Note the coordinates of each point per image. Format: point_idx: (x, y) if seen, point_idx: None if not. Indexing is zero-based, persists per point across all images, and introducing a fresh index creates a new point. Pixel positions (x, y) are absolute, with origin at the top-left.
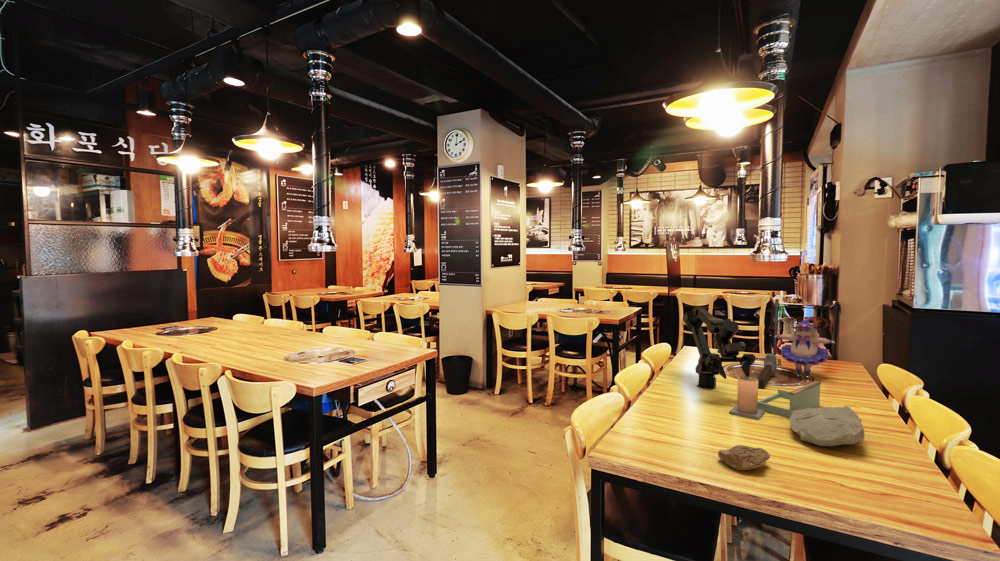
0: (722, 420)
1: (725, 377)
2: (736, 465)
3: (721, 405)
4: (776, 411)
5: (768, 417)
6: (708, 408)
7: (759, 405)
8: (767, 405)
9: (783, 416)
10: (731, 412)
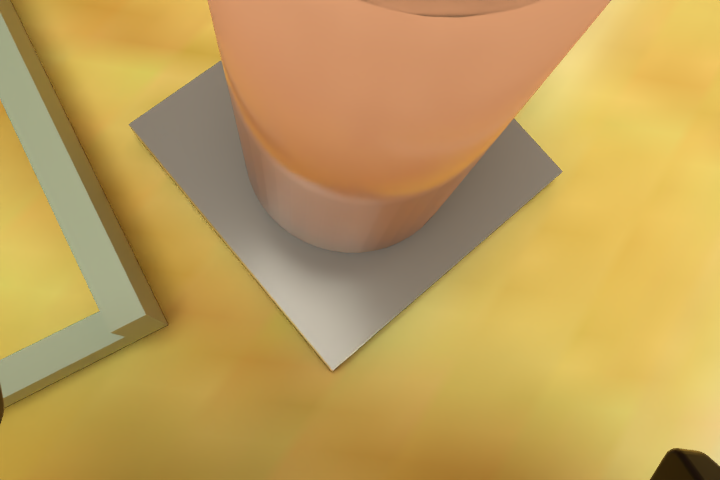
0: (711, 34)
1: (702, 459)
2: None
3: (480, 461)
4: (29, 51)
5: (202, 19)
6: (691, 376)
7: (105, 218)
8: (54, 122)
9: (13, 10)
10: (542, 157)
